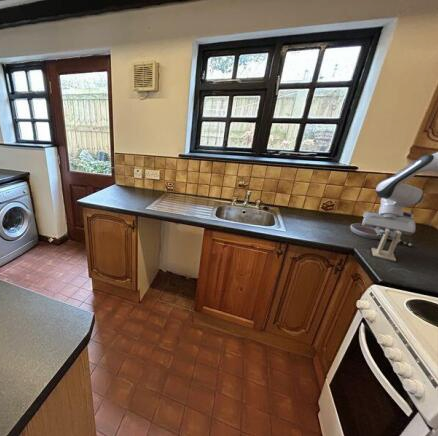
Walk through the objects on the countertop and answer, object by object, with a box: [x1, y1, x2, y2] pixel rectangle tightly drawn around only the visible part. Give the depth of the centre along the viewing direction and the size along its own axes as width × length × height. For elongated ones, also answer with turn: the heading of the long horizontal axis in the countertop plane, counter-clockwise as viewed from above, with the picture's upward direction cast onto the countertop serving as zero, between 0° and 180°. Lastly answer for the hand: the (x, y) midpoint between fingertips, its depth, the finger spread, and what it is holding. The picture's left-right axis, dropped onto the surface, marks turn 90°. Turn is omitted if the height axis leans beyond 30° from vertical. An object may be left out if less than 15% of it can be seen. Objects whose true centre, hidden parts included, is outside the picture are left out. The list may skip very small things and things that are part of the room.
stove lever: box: [381, 231, 397, 238], centre depth 122 cm, size 14×4×4 cm, turn 144°
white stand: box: [371, 228, 402, 262], centre depth 119 cm, size 10×8×14 cm
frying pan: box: [350, 223, 413, 247], centre depth 141 cm, size 17×3×28 cm
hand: (385, 237), depth 126 cm, fingers closed on stove lever, 3 cm apart
